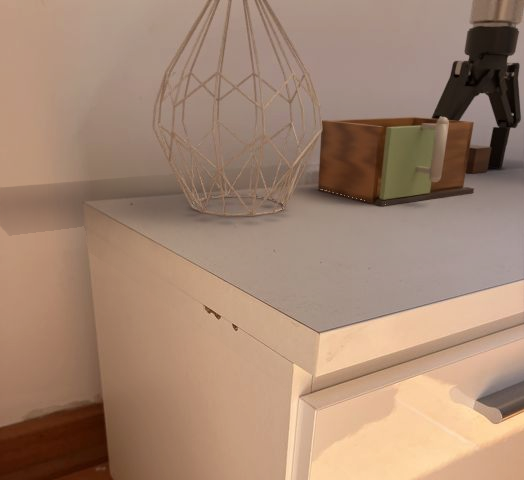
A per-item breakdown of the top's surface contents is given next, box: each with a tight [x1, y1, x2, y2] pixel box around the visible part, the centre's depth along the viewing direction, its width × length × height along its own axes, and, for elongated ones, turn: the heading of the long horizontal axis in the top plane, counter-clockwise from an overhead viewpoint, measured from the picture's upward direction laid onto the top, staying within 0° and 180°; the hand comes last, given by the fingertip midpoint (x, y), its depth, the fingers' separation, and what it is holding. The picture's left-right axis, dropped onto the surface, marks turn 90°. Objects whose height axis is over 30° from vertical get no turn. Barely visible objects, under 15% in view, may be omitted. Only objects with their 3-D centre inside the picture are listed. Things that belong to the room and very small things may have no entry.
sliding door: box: [379, 116, 449, 200], centre depth 69 cm, size 4×8×10 cm, turn 124°
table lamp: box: [152, 0, 323, 217], centre depth 60 cm, size 22×22×40 cm
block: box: [465, 144, 491, 175], centre depth 96 cm, size 4×4×4 cm
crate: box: [317, 116, 475, 207], centre depth 77 cm, size 12×18×9 cm
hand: (468, 170), depth 97 cm, fingers open, 13 cm apart
